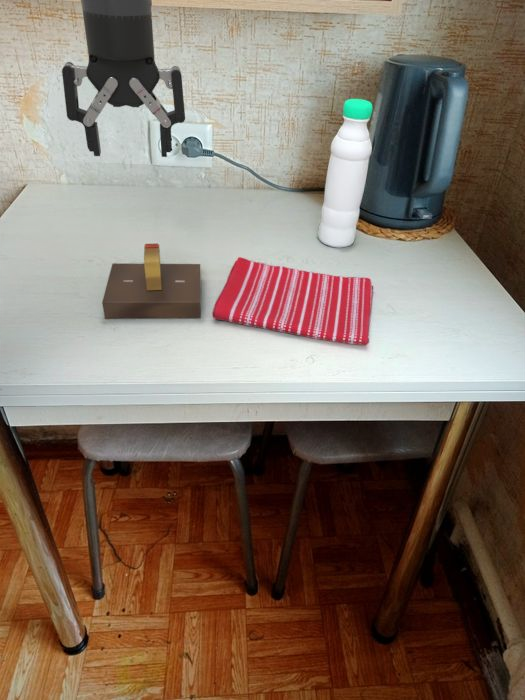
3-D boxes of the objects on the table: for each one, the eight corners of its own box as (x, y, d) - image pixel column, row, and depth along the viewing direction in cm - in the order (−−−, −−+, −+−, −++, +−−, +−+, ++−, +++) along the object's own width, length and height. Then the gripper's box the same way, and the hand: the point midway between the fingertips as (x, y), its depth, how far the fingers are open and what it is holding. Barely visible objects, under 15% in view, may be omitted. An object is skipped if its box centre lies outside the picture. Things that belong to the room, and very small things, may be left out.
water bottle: (312, 243, 97) (332, 102, 81) (323, 228, 102) (343, 93, 86) (348, 252, 95) (375, 109, 79) (357, 236, 100) (384, 100, 84)
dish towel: (237, 266, 89) (237, 253, 87) (373, 289, 86) (376, 275, 84) (208, 322, 76) (208, 308, 74) (367, 351, 73) (370, 336, 71)
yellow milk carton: (161, 290, 76) (159, 259, 73) (146, 290, 76) (143, 259, 73) (161, 272, 80) (159, 242, 77) (147, 273, 80) (144, 243, 76)
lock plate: (104, 319, 75) (101, 301, 73) (114, 279, 83) (112, 262, 81) (200, 318, 76) (200, 301, 74) (200, 279, 85) (200, 262, 83)
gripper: (44, 8, 53) (71, 164, 63) (183, 15, 55) (187, 165, 65) (54, 0, 58) (78, 145, 69) (179, 7, 61) (184, 146, 71)
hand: (131, 154), depth 67 cm, fingers open, 8 cm apart
